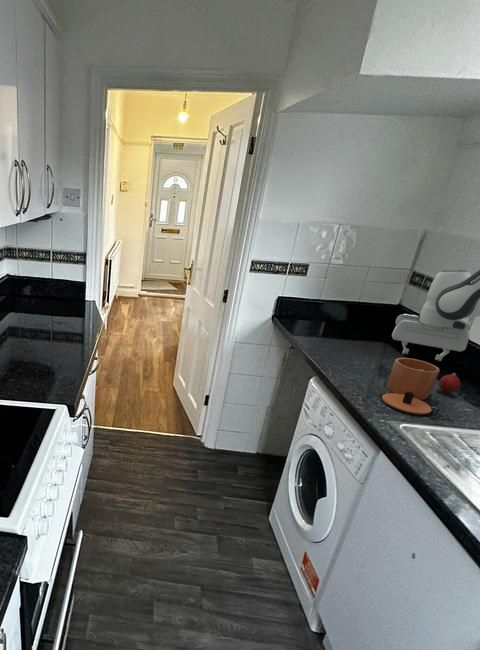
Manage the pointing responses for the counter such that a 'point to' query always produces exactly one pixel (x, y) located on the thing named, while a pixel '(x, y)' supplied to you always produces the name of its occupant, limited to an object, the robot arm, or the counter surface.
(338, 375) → the counter surface
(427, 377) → the pot
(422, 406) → the lid
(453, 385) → the onion
